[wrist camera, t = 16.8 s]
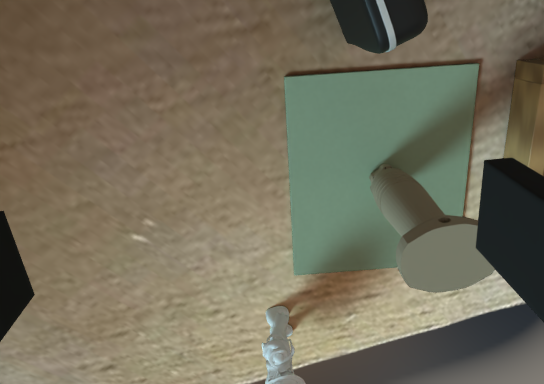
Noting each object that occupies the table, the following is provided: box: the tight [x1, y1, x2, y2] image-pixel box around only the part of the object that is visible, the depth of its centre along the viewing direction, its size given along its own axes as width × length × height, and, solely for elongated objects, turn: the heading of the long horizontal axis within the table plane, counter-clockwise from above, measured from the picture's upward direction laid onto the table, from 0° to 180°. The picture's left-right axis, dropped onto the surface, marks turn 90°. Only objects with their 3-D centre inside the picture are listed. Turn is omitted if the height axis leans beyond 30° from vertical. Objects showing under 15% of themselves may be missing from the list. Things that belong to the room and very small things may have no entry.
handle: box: [369, 164, 495, 292], centre depth 35 cm, size 5×6×15 cm
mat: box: [284, 63, 479, 275], centre depth 43 cm, size 20×17×1 cm
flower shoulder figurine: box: [262, 306, 305, 384], centre depth 43 cm, size 9×4×12 cm, turn 8°
